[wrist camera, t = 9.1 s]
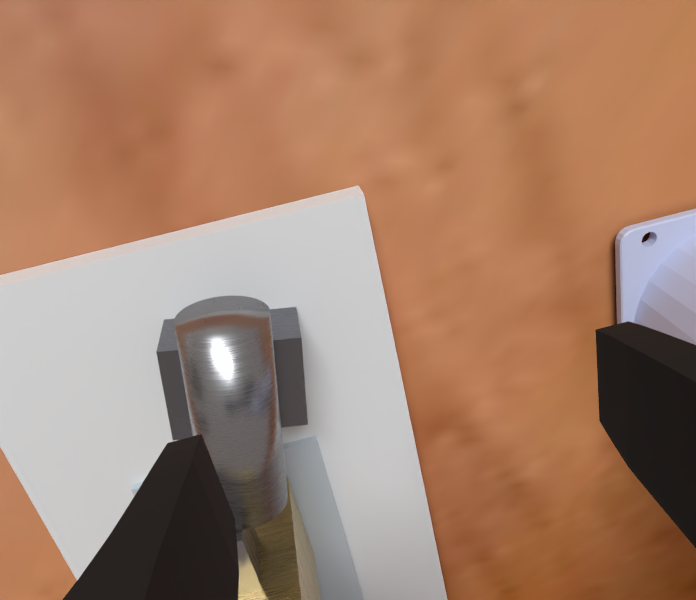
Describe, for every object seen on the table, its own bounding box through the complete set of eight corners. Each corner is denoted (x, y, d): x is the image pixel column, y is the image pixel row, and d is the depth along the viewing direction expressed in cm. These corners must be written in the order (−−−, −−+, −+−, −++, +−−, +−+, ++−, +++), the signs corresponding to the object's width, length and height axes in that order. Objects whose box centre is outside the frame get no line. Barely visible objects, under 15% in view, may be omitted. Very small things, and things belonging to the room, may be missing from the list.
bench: (358, 185, 20) (365, 197, 19) (462, 684, 31) (471, 711, 30) (-66, 291, 19) (-86, 311, 18) (195, 760, 30) (193, 791, 29)
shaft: (156, 273, 19) (133, 346, 15) (292, 261, 19) (305, 329, 16) (185, 439, 22) (172, 539, 18) (304, 425, 22) (319, 519, 18)
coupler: (272, 432, 21) (283, 556, 17) (325, 587, 25) (345, 720, 21) (152, 464, 21) (132, 597, 17) (225, 615, 25) (224, 754, 21)
